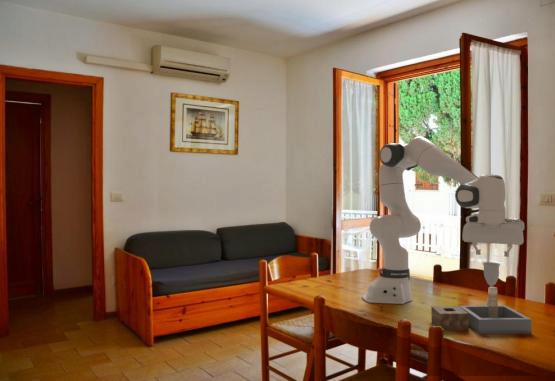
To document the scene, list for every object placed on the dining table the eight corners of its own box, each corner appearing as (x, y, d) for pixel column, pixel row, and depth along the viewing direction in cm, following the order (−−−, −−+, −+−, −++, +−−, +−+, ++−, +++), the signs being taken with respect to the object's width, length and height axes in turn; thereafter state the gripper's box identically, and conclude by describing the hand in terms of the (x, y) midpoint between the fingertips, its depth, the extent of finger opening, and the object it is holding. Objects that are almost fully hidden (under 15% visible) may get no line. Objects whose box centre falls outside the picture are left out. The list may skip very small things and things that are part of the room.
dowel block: (440, 330, 158) (440, 313, 158) (431, 321, 168) (431, 306, 168) (468, 330, 157) (468, 313, 157) (458, 321, 167) (457, 306, 167)
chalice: (479, 303, 193) (479, 262, 193) (494, 302, 193) (493, 262, 193) (489, 307, 186) (488, 265, 186) (504, 307, 186) (503, 264, 186)
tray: (479, 333, 153) (478, 319, 153) (459, 318, 171) (459, 305, 171) (531, 333, 153) (531, 319, 153) (506, 318, 171) (506, 305, 171)
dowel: (497, 324, 160) (496, 289, 160) (488, 323, 161) (487, 288, 161) (498, 322, 162) (497, 287, 162) (489, 321, 164) (488, 286, 164)
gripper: (524, 218, 159) (525, 256, 159) (464, 216, 170) (464, 252, 170) (524, 219, 153) (524, 258, 154) (461, 217, 164) (461, 254, 164)
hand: (492, 255), depth 162 cm, fingers open, 8 cm apart
